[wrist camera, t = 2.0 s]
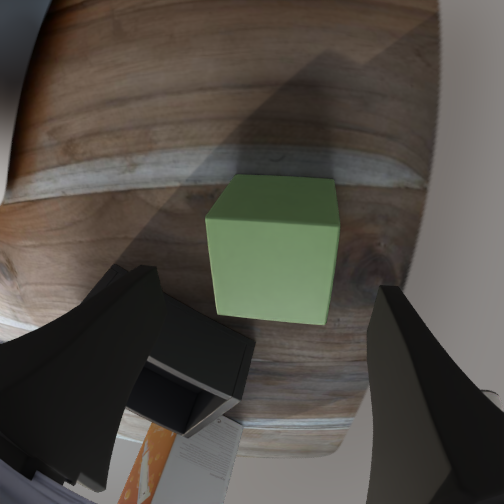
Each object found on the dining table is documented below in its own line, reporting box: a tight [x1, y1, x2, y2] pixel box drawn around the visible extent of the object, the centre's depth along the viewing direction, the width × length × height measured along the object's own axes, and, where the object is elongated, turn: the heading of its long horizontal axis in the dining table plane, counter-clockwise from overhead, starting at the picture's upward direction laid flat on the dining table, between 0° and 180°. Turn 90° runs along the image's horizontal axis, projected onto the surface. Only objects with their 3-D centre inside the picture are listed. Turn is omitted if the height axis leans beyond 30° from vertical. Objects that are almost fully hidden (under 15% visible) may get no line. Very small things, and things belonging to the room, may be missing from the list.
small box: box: [118, 415, 243, 504], centre depth 23 cm, size 8×6×13 cm
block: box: [205, 174, 340, 325], centre depth 13 cm, size 4×4×4 cm
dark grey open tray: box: [81, 264, 256, 438], centre depth 20 cm, size 10×9×4 cm
